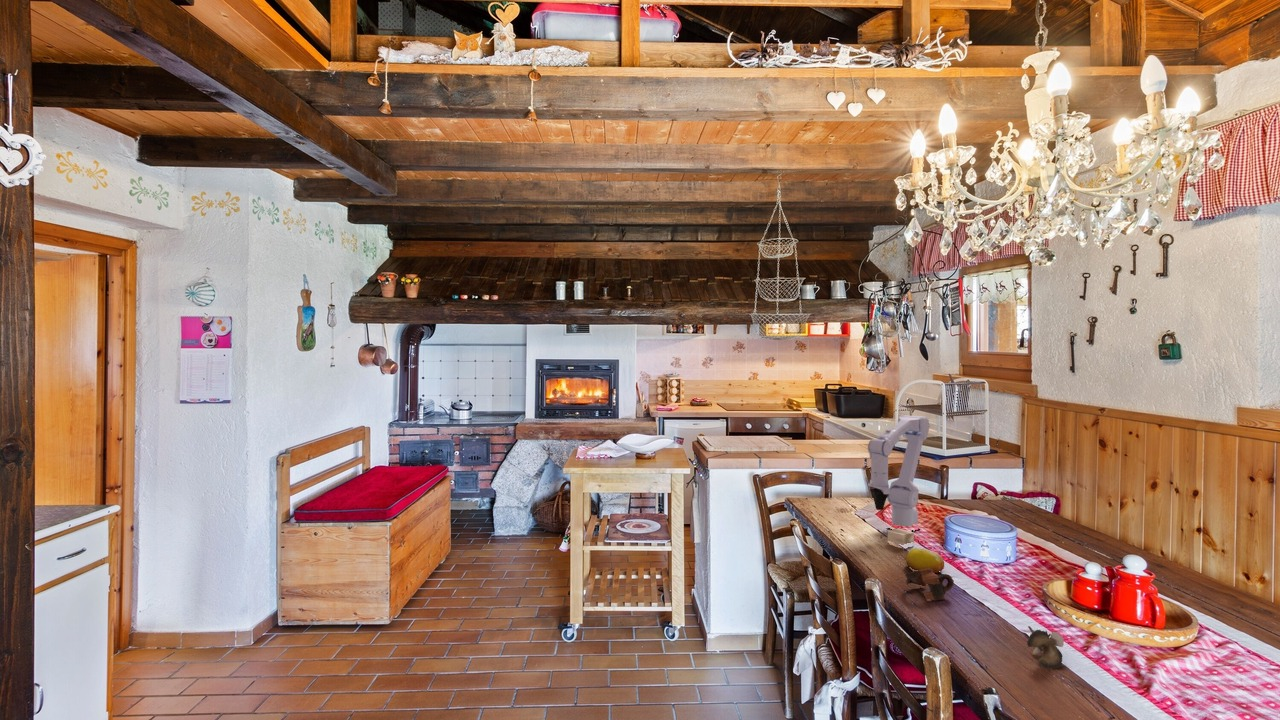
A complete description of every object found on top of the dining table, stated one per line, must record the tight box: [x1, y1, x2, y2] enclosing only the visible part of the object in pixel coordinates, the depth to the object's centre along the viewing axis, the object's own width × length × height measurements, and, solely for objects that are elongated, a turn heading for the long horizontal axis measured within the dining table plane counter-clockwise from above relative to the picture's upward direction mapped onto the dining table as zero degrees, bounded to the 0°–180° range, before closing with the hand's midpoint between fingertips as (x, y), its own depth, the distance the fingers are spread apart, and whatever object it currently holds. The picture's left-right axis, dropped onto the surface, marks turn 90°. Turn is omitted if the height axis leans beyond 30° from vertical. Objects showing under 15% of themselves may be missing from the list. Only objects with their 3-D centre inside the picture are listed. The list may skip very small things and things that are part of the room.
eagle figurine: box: [1026, 625, 1065, 670], centre depth 127 cm, size 8×7×9 cm
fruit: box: [905, 547, 945, 574], centre depth 179 cm, size 11×10×8 cm
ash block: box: [887, 528, 915, 545], centre depth 202 cm, size 6×6×5 cm
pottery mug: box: [905, 569, 955, 601], centre depth 161 cm, size 12×10×8 cm
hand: (879, 509), depth 210 cm, fingers closed
